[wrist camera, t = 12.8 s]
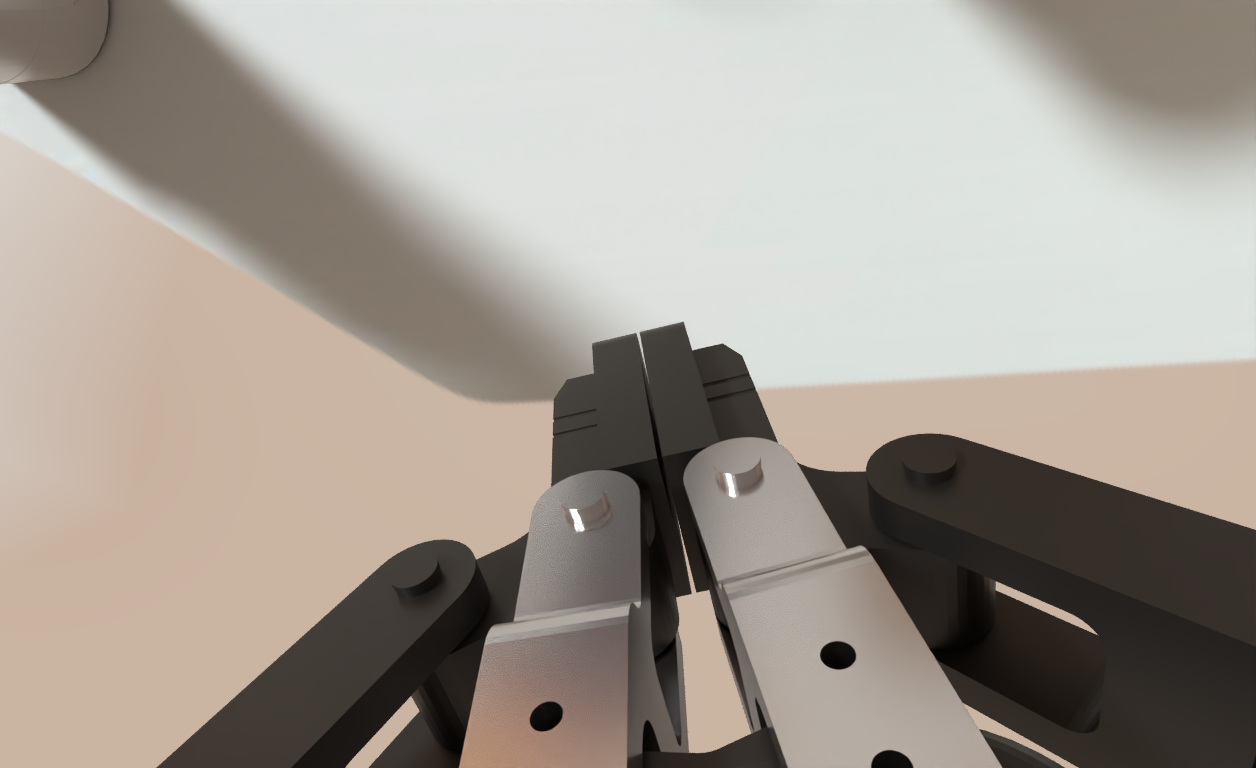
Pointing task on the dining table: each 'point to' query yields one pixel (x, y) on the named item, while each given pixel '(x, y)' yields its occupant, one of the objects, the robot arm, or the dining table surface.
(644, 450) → the robot arm
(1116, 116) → the dining table surface
